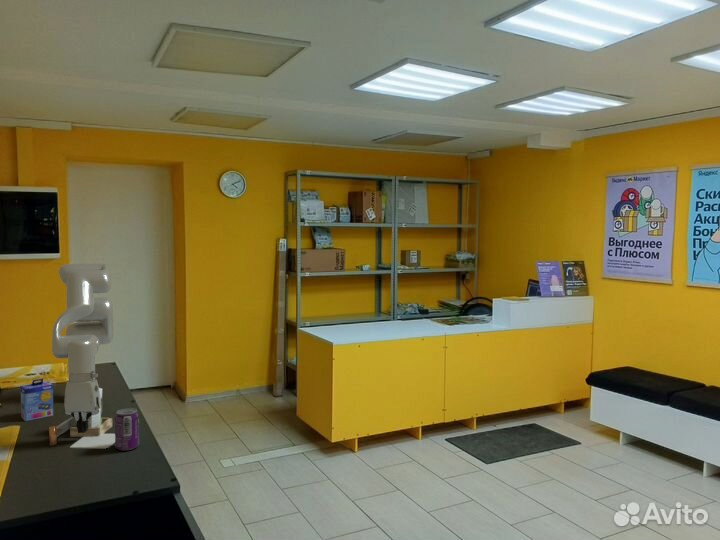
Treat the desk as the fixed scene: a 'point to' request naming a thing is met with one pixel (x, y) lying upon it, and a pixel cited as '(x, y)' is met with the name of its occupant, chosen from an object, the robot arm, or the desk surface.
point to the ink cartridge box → (36, 400)
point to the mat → (95, 441)
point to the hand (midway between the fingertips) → (82, 431)
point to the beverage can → (126, 429)
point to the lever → (61, 429)
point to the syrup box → (96, 419)
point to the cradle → (93, 429)
